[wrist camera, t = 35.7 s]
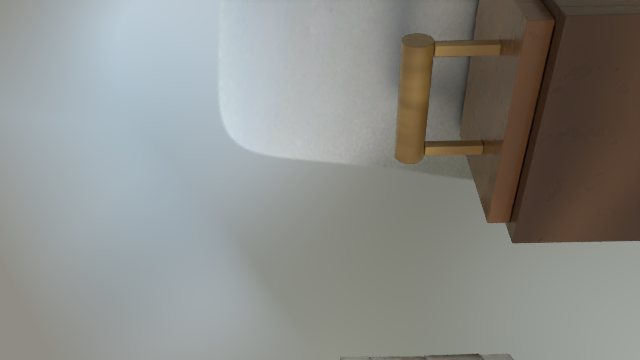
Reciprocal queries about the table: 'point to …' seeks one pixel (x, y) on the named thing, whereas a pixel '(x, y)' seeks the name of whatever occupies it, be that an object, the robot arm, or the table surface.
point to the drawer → (481, 97)
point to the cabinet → (585, 130)
